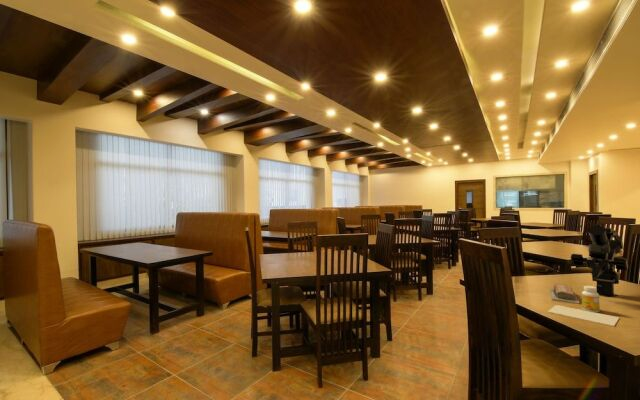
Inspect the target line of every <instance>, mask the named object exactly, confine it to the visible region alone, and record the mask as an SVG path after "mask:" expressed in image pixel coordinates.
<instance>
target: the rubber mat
mask: <svg viewBox="0 0 640 400" xmlns="http://www.w3.org/2000/svg"><path fill="white" fill-rule="evenodd" d="M547 313H550V314H554V315H559V316H562V317H563V316H565V317H568V318H573V319H578V320H582V321H586V322H590V323H597V324H600V325H605V326H610V327H615V326H616V324H617V323H618V321H619V320H620V316H619V317H618V316H614V315H609V314H605V313H604V314H603V313H599V312H590V311H586V310H584V309H578V308H573V307H568V306H563V305H559V304H555V305H554V306H552V307H551V308H550V309H549V310H547Z"/></svg>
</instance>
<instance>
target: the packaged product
mask: <svg viewBox="0 0 640 400" xmlns="http://www.w3.org/2000/svg"><path fill="white" fill-rule="evenodd" d="M549 294H550V299H551V301H555V302H561V303H569V304H576V305H577V304H578V305H579V304H580V300H579V298H578V296H577V295H576V293H575V291H573V289H572V287H571V286H570V285H567V284H560V283H559V284H558V283H554V285H553V289H552V288H549Z"/></svg>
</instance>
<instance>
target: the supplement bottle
mask: <svg viewBox="0 0 640 400" xmlns="http://www.w3.org/2000/svg"><path fill="white" fill-rule="evenodd" d="M581 299H582V300H581V305H582V306H581V307H582V310H584V311H589V312H594V313H599V312H600V295H599V294H598V293H597V288H596V286H592V285H584V286H583V290H582V292H581Z"/></svg>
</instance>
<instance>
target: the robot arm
mask: <svg viewBox="0 0 640 400" xmlns="http://www.w3.org/2000/svg"><path fill="white" fill-rule="evenodd" d="M588 234H589V237H590V240H591V242H592V243H591V244H589V245H588V256H586V257H584V256H583V254H582V253H581V254H579V253H571V254H570V260H571V263H572V265H573V266H581V267H582V266H584V264H585V263H586V265H587V267H588V269H591V277H592V280H591V281H592V282H596V286H595V287H596V288H597V291H596V292H597V293H598V294H599V296H602V297H603V296H604V297H607V298H609V297H617V296H619V295H618V294H616V293H615V285H618V284H620V279H619V274H618V273H617V271H616V270H618V271H626V272H627V271H628V269H629V264H628V259H626V258H624V257H617V256H616V255H617V254H620V253H621V251H622V250H623V249H624V241H623V237H621V236H620V235H619V234H618V233H617V230H615V229H612V228H611V227H603V226H602V224H594V226H591V227H589V228H588ZM614 266H615V267H614ZM615 269H616V270H615Z"/></svg>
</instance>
